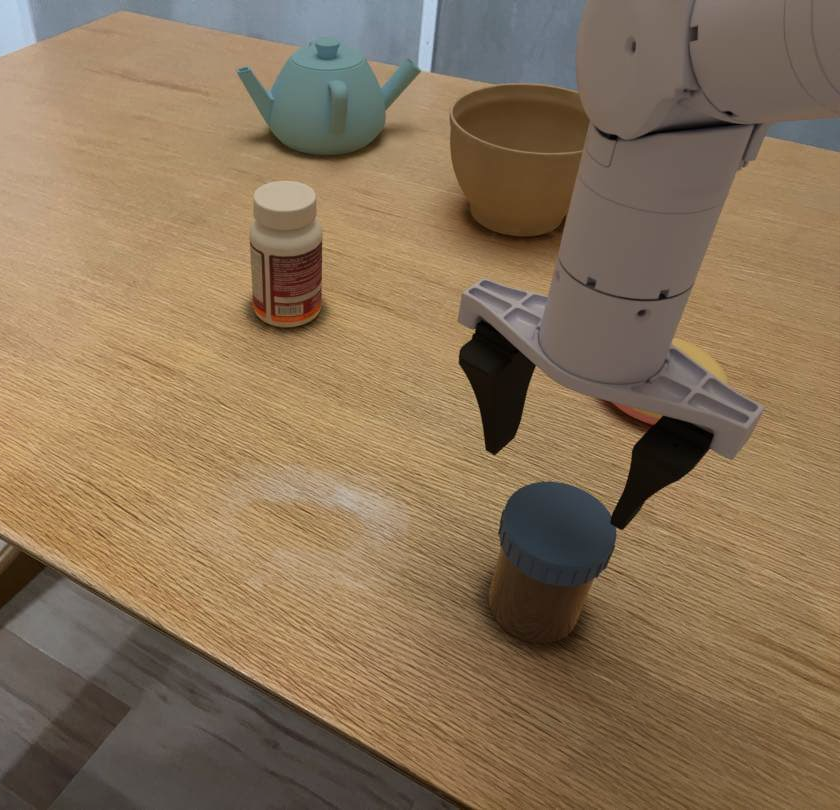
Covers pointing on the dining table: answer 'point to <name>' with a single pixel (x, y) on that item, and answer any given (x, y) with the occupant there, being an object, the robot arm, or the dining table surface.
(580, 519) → the lid
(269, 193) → the pill bottle
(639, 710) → the dining table surface
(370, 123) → the teapot
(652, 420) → the donut
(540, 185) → the planter bowl
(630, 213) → the robot arm
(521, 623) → the jar
